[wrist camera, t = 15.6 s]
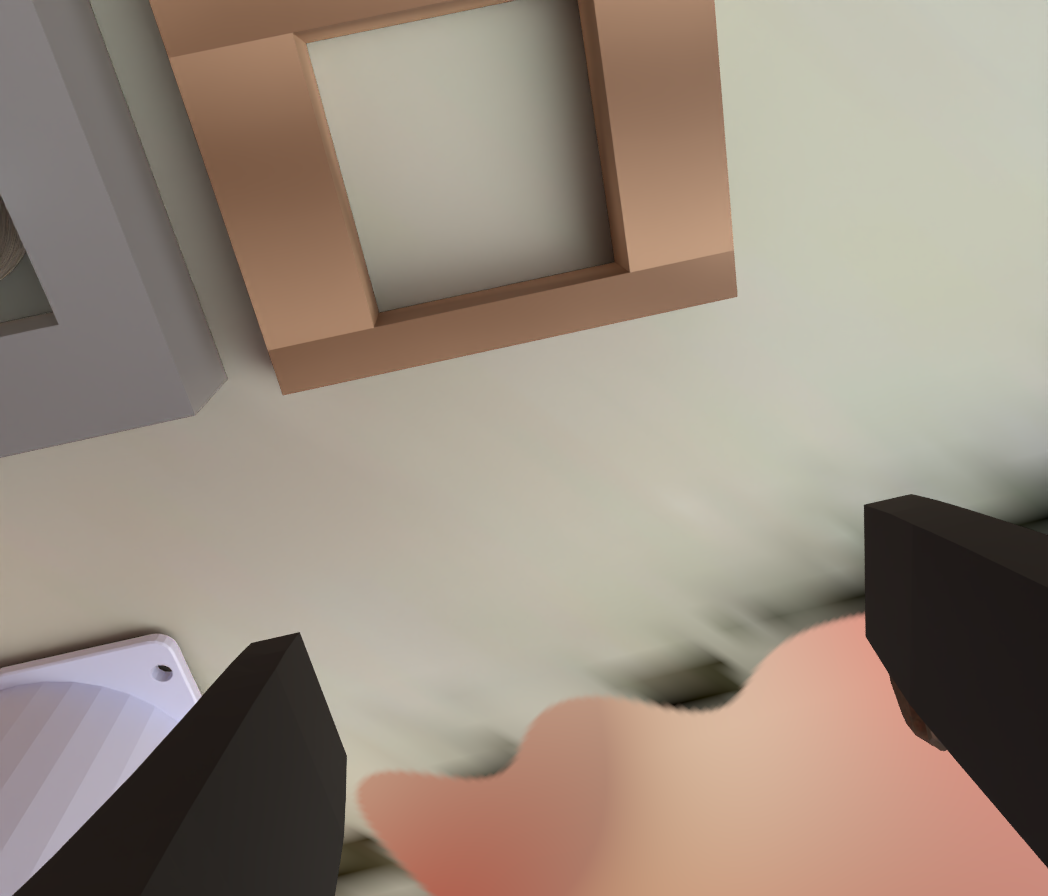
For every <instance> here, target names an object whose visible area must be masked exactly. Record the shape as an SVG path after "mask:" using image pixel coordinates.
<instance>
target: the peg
mask: <svg viewBox="0 0 1048 896" xmlns="http://www.w3.org/2000/svg"><path fill="white" fill-rule="evenodd" d="M25 252H26V250H25V248H24V246H23V243H22V241H21V239H20V237H19V234H18V232H17V230H16V228H15V226H14V223H13V221H12V219H11V217H10V214H9V212H8V210H7V208H6V205H5V203H4V201H3V199H2V197H1V194H0V280H2V279H3V278H4V277H6V276H7V275H8V274H9V273H10V272H11V271H12V270H13V269H14V268H15V267H16V266H17V265H18V263H19V262H20V260H21V259H22V258H23V256H24V254H25Z"/></svg>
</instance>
